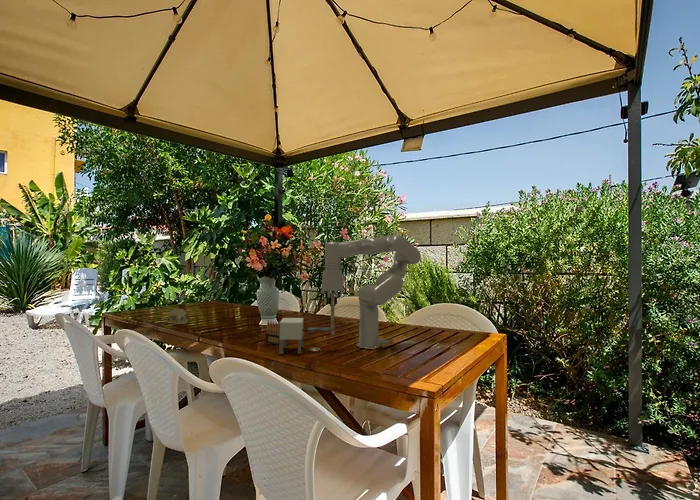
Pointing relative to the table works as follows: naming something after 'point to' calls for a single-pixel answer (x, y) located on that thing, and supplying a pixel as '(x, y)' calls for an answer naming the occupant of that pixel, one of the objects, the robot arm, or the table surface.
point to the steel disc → (314, 349)
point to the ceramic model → (177, 316)
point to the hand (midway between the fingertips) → (332, 305)
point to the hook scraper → (331, 320)
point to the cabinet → (291, 332)
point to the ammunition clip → (273, 333)
